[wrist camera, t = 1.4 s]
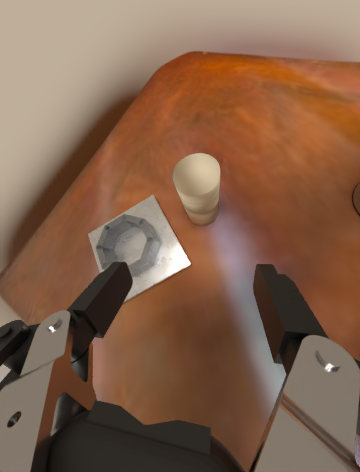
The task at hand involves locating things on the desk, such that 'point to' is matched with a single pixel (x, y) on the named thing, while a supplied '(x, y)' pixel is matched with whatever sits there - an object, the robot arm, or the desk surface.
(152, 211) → the socket plate
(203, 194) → the cream rounded cylinder
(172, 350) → the desk surface
